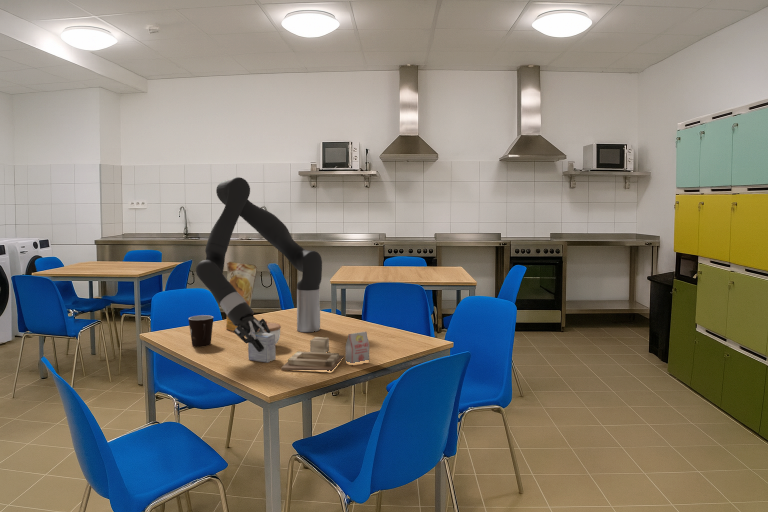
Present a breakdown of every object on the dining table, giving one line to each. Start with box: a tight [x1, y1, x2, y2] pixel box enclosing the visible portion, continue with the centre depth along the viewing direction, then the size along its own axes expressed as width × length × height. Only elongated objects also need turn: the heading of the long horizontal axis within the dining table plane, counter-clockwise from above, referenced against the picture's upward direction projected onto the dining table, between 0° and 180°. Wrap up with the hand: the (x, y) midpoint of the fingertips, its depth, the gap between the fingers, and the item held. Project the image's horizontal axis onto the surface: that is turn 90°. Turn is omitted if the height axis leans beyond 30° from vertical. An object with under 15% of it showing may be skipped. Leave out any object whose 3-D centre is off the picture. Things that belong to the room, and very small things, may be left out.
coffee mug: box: [188, 314, 214, 348], centre depth 178 cm, size 12×9×10 cm
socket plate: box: [280, 350, 345, 371], centre depth 157 cm, size 16×16×2 cm
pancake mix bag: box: [225, 261, 258, 333], centre depth 201 cm, size 7×19×28 cm, turn 47°
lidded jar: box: [257, 320, 282, 345], centre depth 178 cm, size 11×11×9 cm
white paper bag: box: [345, 331, 370, 363], centre depth 159 cm, size 4×7×10 cm, turn 126°
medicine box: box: [247, 332, 277, 364], centre depth 161 cm, size 8×4×9 cm, turn 65°
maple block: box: [309, 336, 330, 353], centre depth 170 cm, size 5×5×5 cm
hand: (266, 348), depth 161 cm, fingers open, 4 cm apart
